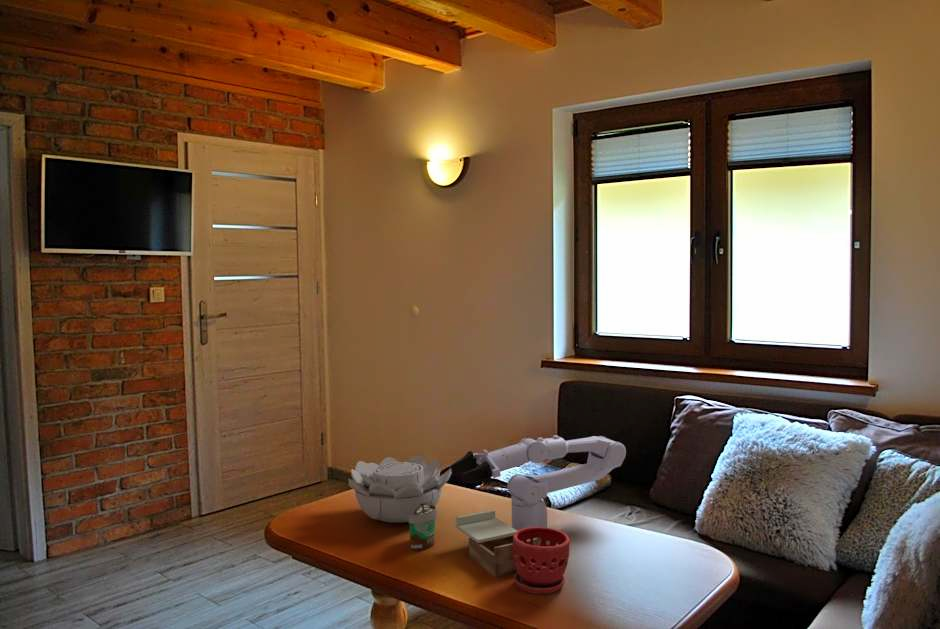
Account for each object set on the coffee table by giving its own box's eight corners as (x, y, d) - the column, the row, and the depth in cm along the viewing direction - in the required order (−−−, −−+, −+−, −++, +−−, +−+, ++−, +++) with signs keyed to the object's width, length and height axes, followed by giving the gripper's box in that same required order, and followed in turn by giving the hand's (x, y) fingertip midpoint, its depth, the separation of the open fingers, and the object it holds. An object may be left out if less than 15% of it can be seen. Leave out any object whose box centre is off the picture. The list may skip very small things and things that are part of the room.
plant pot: (529, 603, 163) (529, 550, 163) (503, 580, 176) (503, 530, 175) (580, 591, 169) (580, 540, 168) (551, 570, 181) (551, 522, 180)
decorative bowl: (393, 495, 241) (392, 449, 240) (467, 512, 223) (466, 463, 222) (323, 522, 216) (322, 472, 215) (401, 544, 199) (399, 489, 198)
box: (509, 548, 195) (509, 521, 194) (538, 567, 182) (538, 538, 182) (469, 557, 189) (468, 529, 189) (496, 577, 177) (495, 548, 176)
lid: (494, 519, 201) (494, 509, 201) (518, 534, 190) (518, 523, 190) (455, 527, 196) (455, 516, 196) (478, 543, 185) (477, 532, 184)
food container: (432, 554, 191) (431, 516, 191) (409, 553, 193) (408, 515, 192) (443, 537, 203) (442, 501, 203) (421, 535, 205) (421, 500, 204)
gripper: (489, 438, 207) (444, 451, 201) (513, 453, 194) (466, 468, 188) (492, 461, 208) (448, 475, 203) (516, 478, 195) (470, 493, 190)
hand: (457, 473), depth 196 cm, fingers open, 7 cm apart
